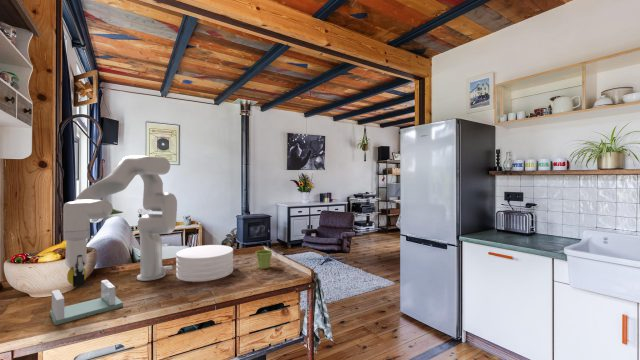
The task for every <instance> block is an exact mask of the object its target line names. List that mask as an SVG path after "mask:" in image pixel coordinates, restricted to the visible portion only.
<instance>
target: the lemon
mask: <svg viewBox="0 0 640 360" xmlns="http://www.w3.org/2000/svg"><path fill="white" fill-rule="evenodd" d="M77 266H78V265H75V267H77ZM77 269H78V268H77ZM77 269H76V270H77ZM73 276H74V267H72V268H71V269H70V268H69V270H68V272H67V275H66V278H67V283H69V284H70V285H72V286H73ZM86 278H87V270H86V268H85V267H84V281H86Z"/></svg>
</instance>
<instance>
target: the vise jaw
mask: <svg viewBox="0 0 640 360" xmlns="http://www.w3.org/2000/svg"><path fill="white" fill-rule="evenodd" d="M115 296H116V286H115V285H114V284H112V282H110V281H109V280H108V279H103V280H100V298H103V300H104V301H105V302H106V303H107V304H108V305H109V306H110V305H113V304H115Z"/></svg>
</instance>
